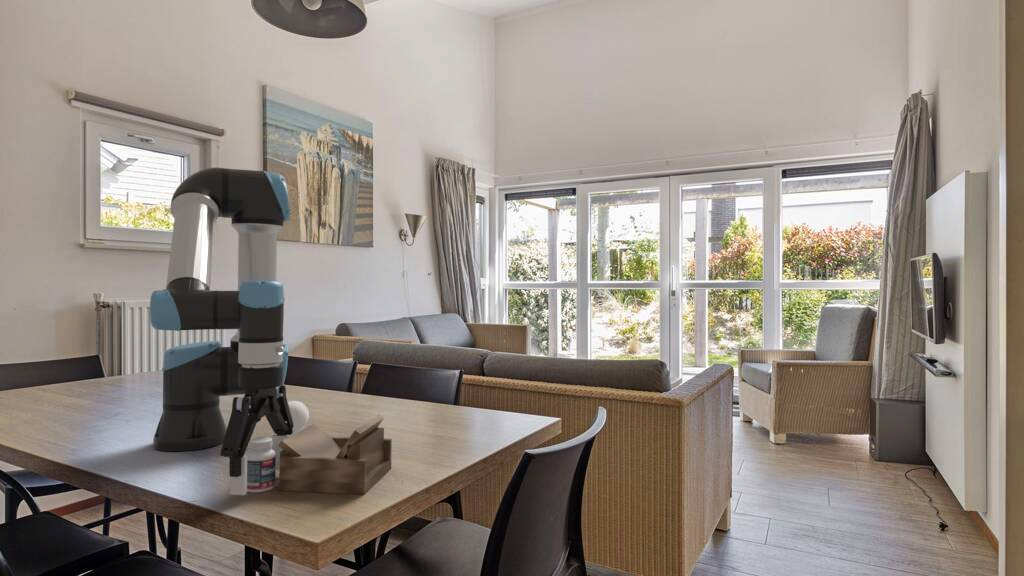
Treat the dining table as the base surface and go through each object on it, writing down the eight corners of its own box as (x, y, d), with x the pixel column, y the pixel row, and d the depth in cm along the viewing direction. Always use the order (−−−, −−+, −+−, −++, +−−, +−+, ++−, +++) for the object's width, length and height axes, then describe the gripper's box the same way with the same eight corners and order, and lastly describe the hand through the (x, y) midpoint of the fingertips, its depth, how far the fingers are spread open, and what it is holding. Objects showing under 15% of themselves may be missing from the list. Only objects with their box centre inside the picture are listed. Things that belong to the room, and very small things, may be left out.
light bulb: (282, 446, 133) (282, 398, 133) (311, 445, 133) (312, 398, 133) (272, 454, 126) (273, 404, 126) (303, 454, 127) (304, 404, 127)
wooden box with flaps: (274, 489, 104) (275, 428, 104) (312, 464, 119) (312, 410, 119) (364, 494, 103) (365, 431, 103) (391, 468, 118) (391, 413, 117)
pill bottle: (263, 494, 102) (264, 444, 102) (237, 492, 103) (238, 442, 103) (281, 484, 107) (281, 437, 107) (256, 482, 108) (256, 435, 108)
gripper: (240, 375, 92) (239, 507, 92) (311, 357, 117) (310, 461, 117) (197, 374, 93) (196, 505, 93) (276, 356, 118) (275, 459, 118)
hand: (260, 481), depth 105 cm, fingers open, 13 cm apart
